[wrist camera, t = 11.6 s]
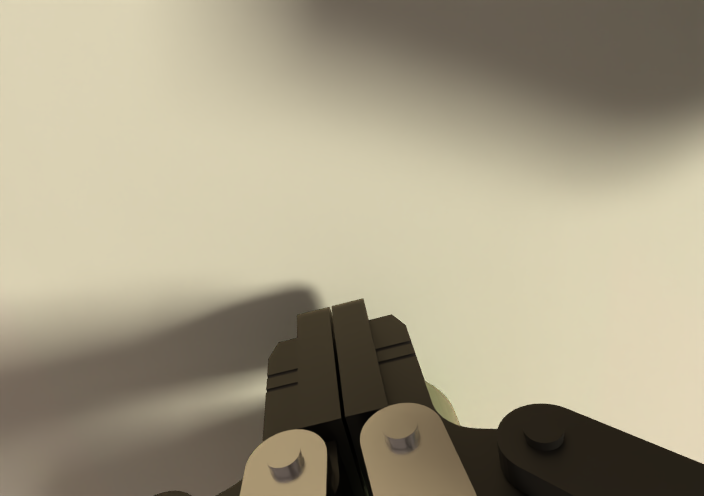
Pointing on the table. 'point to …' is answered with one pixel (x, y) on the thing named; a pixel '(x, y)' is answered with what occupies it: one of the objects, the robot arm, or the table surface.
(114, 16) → the table surface
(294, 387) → the robot arm
